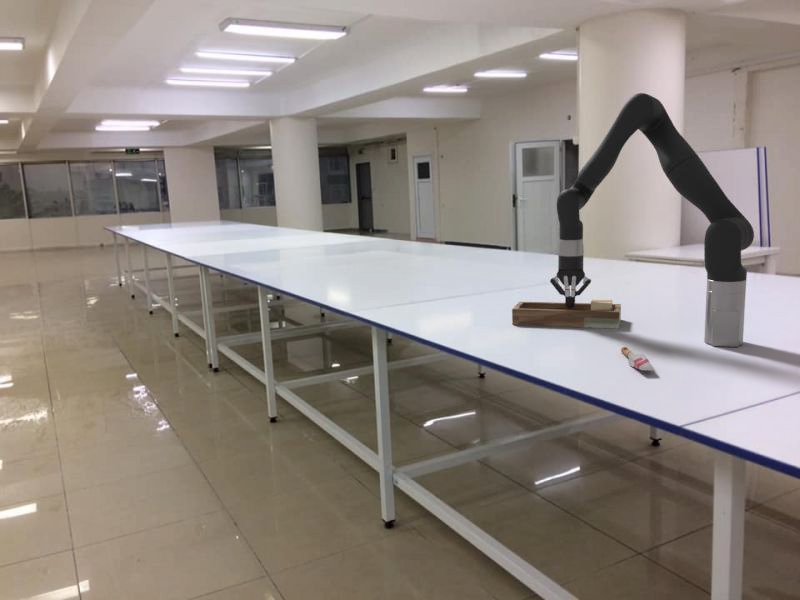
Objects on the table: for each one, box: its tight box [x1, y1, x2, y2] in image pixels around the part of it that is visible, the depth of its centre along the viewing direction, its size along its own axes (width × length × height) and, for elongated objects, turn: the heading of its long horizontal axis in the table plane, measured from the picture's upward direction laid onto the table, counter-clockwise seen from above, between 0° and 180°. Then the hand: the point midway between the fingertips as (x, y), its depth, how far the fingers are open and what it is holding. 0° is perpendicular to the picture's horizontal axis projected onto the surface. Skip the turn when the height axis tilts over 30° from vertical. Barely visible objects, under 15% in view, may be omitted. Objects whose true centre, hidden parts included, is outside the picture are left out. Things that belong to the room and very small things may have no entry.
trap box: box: [511, 301, 622, 330], centre depth 200 cm, size 12×32×5 cm, turn 69°
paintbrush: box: [620, 346, 656, 371], centre depth 155 cm, size 4×3×20 cm
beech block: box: [590, 298, 613, 311], centre depth 196 cm, size 5×6×4 cm
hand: (570, 307), depth 199 cm, fingers closed
